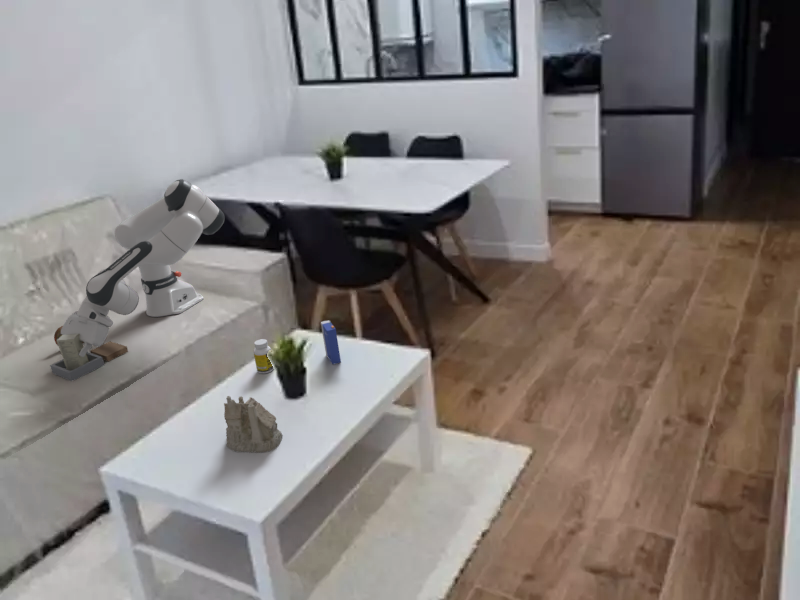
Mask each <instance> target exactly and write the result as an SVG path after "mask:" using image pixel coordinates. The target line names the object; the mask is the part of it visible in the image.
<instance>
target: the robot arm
mask: <svg viewBox="0 0 800 600" xmlns="http://www.w3.org/2000/svg"><path fill="white" fill-rule="evenodd" d="M225 218H226V217H225V213H224V212H223V211H222V210H221V208H220V207H218V206H217V205H216V203H214V202H213V201H212V200H211V199H210V198H209V197H208V196H207V195H206V194H204V191H202V189H201V188H200V187H199V186H197V185H195V184H192V183H190V182H189V181H187V180H185V179H183V178H181V179H177V180H175V181H173V182H172V183H171V184H170V185H168V187H167V188H166V190H165V192H164V194H163V197H160V198H159V199H158V200H156V201H155V202H153V203H151V204H149V205H148V206H146V207H144V208H143V209H141V210H138V211H137V212H135V213H134V214H133V215H131V216H129V217H127V218H126V219H124V220H122V221H121V222H120V223H119V224H118V225H117V226H116V228H115V230H114V237H115V240H116V242H117V243H118V244H119V246H120V247H122V248H123V249H126V250H127V251H125V253H123V254H122V255H120V257H119V258H117V259H116V260H114V262H113V263H111V264H110V265H109V266H108V267H106V268H105V269H101V270H99V271H98V273H97V274H95V275H94V276H92V277H91V278H90V279H89V280H88V282H87V284H86V287H85V292H86V293H85V295H86V297H84V299H83V300H82V302H81V304H80V306H79V308H78V309H77V310H76V311H75V312H73V313H71V314H70V315H69V316H68V317H67V319H66V320H65V322H64V324H63V325H62V326H63V327H62V329H61V334H62V335H65V334H77V333H79V334H80V336H79V340H80V341H82V342H83V346H84V347H83V348H82V349H81V350H79V352H78V355H79V356H82V357H84V356H85V354H86V352H90V350H92V347H93V346H94V347H96V348H97V347H100V346H101V345H103V344H105V343H104V342H105V340H106V338H107V337H108V334H109V332H110V328H112V327H113V324H114V321H113V320H112V318H110V317H109V311H111V312H114V313H116V314H118V315H123V316H127V315H129V314H132V313H133V312H134V311H135V310H136V308H137V307H138V305H139V301H140V300H139V299H140V297H139V294H138V292H137V291H136V290H134V289H133V288H132V287H131V286H130V285H128V284H127V282H126V281H125V278H127V276H128V275H130V274H131V273H132V272H134V271H135V270H136V269H137V268H138V269H139V272H140V277H141V278H140V281H141V285H142V288H143V292H144V294H145V295H144V296H145V301H146V310H145V311H146V315H147V316H148V317H153V318H157V317H158V318H159V317H167V316H170V315H179V314H181V313H184V311H187V310H188V309H189V308H192V307H193V306H194V305H197V303H200V302H201V301H202V300H204V296H203V295H202V294H201V293H199V292H196V289H195V287H194V286H193V285H192V284H191V283H188V282H186V281H184V280H181V279H178V278H181V276H182V272H181V271H172V269H171V266H173V265H175V264H176V263H178V262H179V261H181V260H182V259H183V258H184V256H186V255H187V253H188V252H189V251H191V249H192V248H193V247H194V245H195V244H196V243H197V241H198V239H200V237H201V235H202V234H204V235H207V236H209V235H214V234H215V233H216V232H218V231H219V230H220V229H221V227H222V226H223V224H225Z"/></svg>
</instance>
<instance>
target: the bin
mask: <svg viewBox="0 0 800 600" xmlns="http://www.w3.org/2000/svg"><path fill="white" fill-rule="evenodd" d="M86 355H87V358H88V361H89V362H88V363H86V364H84V365H82V366H80V367H78V368H76V369H73V370H71V371H69V370H67V369H66V366H65V363H64V360H63V358H62V359H60V360H59V361H56V362H54V363H52V364H50V365H49V367H50V370H51V373H52V374H53V375H56V376H59V377H61V378H63V379H66V380H68V381H70V382H74V381H75V380H77V379H79V378H82V377H83V376H85V375H87V374H89V373H91V372H93V371H96V370H97V369H99V368H101V367H103V366H105V362H104V361H105V360H103V358H102V357H101V356H98V355H95V354H92V353H90V351H88V352H86Z"/></svg>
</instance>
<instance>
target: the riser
mask: <svg viewBox="0 0 800 600" xmlns="http://www.w3.org/2000/svg"><path fill="white" fill-rule="evenodd" d="M128 352H129V349H128V346H127V345H124V344H121V343H117V342H113V341H111V340H110V341H107V342H106V343H103V344H102V345H101V346H100V347H97V346H96V347H95V348H92V349H90V350H89V353H92V354H95V355H98V356H101V357H102V358H103V361H105V362H110V361H112V360H115V359H116V358H119V357H120V356H122V355H125V354H127V353H128Z"/></svg>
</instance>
